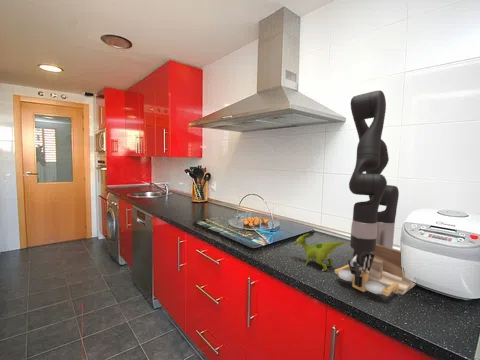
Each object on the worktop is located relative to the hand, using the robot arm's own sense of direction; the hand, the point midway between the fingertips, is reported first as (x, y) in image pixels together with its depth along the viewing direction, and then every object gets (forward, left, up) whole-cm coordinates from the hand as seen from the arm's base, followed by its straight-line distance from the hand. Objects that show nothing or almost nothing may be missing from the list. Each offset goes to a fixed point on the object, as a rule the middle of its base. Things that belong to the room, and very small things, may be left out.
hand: (359, 284), depth 81 cm
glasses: (-3, 0, -1) cm, 3 cm away
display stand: (-16, 0, -2) cm, 16 cm away
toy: (-5, -20, -2) cm, 21 cm away
